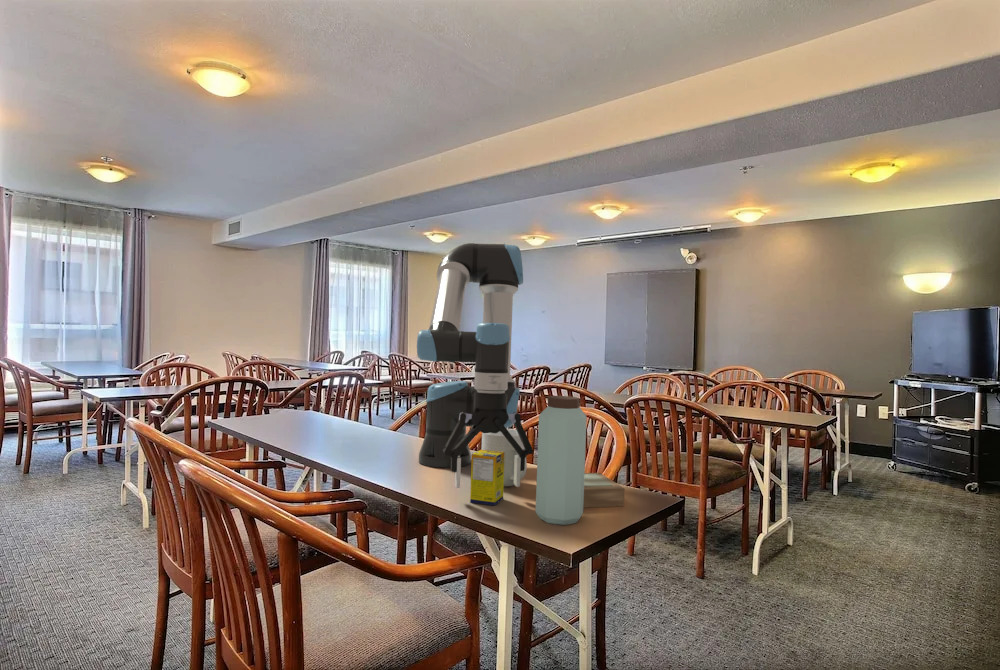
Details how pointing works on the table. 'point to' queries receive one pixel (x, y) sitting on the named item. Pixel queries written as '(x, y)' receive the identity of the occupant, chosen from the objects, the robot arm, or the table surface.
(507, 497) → the table surface
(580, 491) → the water bottle
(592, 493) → the oak stand
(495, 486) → the supplement box
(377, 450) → the table surface
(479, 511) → the table surface
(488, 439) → the mug
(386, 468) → the table surface
